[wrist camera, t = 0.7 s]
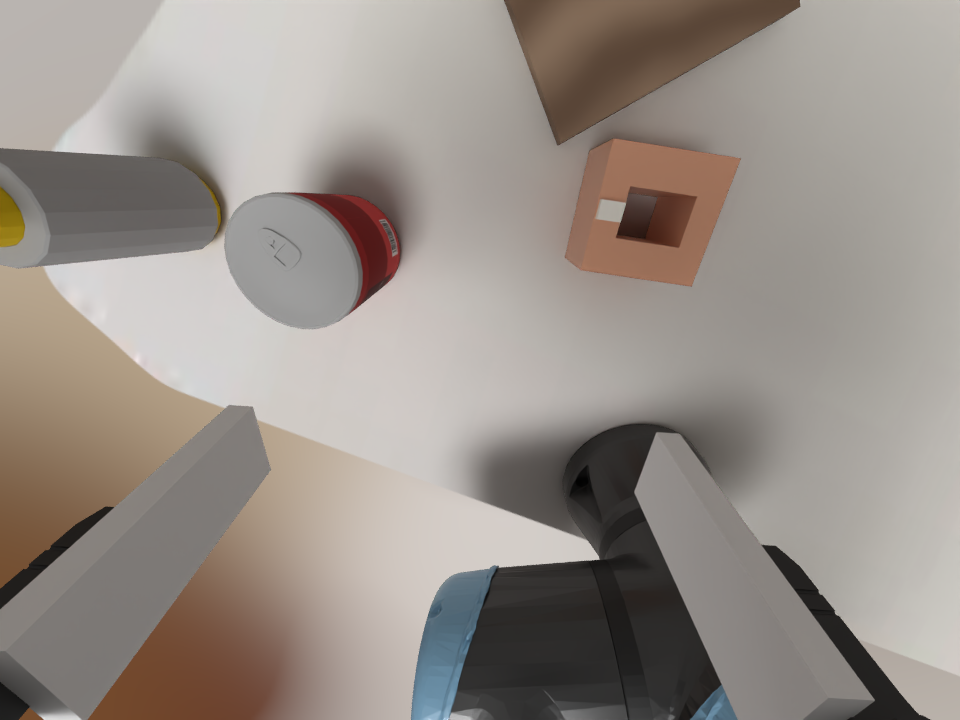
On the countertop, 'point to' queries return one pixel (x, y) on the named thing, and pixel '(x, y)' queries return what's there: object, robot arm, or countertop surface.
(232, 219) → the canned food
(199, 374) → the countertop surface
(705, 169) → the orange open box
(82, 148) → the countertop surface
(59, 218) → the soap bottle
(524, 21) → the base plate
